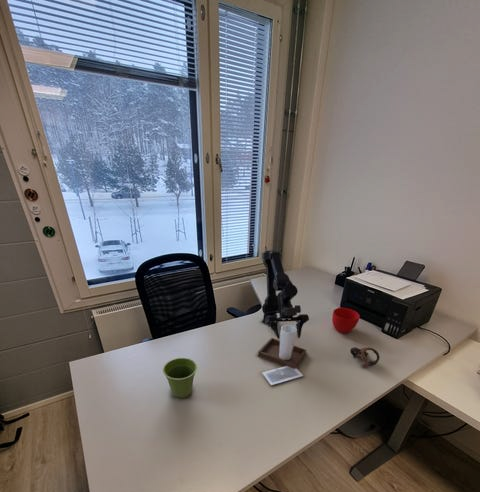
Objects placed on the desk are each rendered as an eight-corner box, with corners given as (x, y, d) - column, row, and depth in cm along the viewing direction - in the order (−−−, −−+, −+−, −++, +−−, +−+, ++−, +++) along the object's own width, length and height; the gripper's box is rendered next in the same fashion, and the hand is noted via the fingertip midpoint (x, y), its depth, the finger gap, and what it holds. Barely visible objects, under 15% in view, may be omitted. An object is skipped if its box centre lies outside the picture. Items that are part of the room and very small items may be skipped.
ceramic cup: (346, 320, 152) (350, 304, 147) (359, 336, 137) (364, 319, 132) (324, 320, 151) (327, 304, 146) (334, 336, 136) (338, 319, 131)
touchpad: (302, 377, 109) (303, 373, 108) (270, 387, 104) (271, 383, 103) (292, 366, 115) (293, 362, 114) (261, 374, 110) (261, 370, 109)
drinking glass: (295, 358, 119) (300, 329, 111) (285, 363, 115) (289, 334, 108) (284, 350, 123) (288, 322, 116) (274, 356, 120) (277, 327, 112)
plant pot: (183, 408, 93) (181, 384, 87) (159, 394, 98) (155, 370, 92) (204, 388, 102) (203, 365, 96) (181, 376, 107) (179, 353, 101)
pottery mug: (372, 357, 123) (382, 349, 116) (369, 374, 119) (380, 368, 111) (347, 346, 124) (356, 338, 117) (343, 363, 120) (352, 357, 113)
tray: (258, 356, 120) (258, 351, 119) (271, 341, 130) (271, 337, 129) (294, 370, 112) (295, 365, 111) (305, 354, 123) (306, 349, 121)
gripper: (268, 299, 111) (272, 336, 107) (311, 297, 113) (316, 333, 110) (262, 307, 121) (266, 341, 118) (302, 305, 124) (306, 338, 120)
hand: (288, 338), depth 116 cm, fingers open, 9 cm apart
